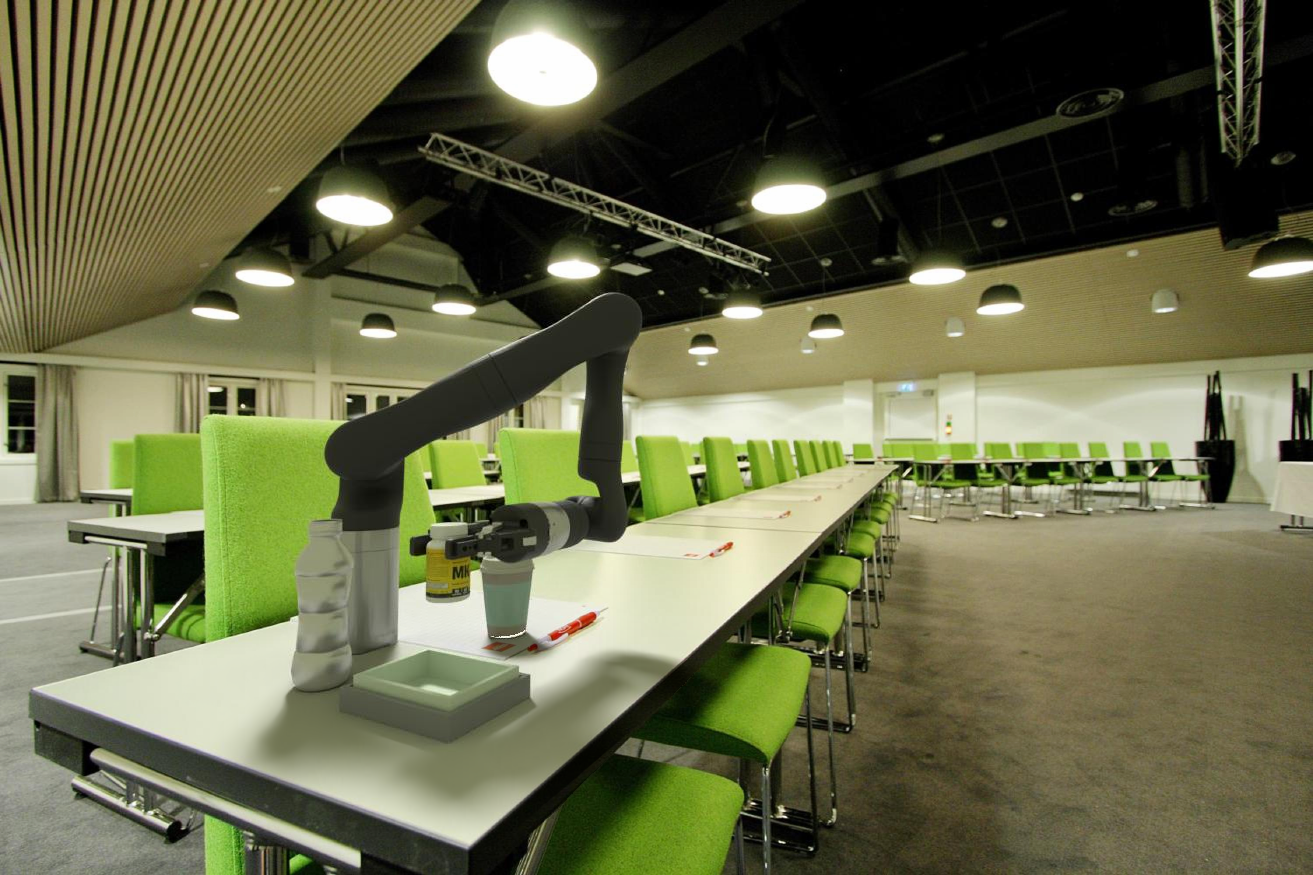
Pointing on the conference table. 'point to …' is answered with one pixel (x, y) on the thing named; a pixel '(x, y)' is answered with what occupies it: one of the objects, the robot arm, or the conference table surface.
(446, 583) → the supplement bottle
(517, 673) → the sage crate
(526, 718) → the conference table surface
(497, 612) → the coffee cup
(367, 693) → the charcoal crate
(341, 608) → the plastic bottle
